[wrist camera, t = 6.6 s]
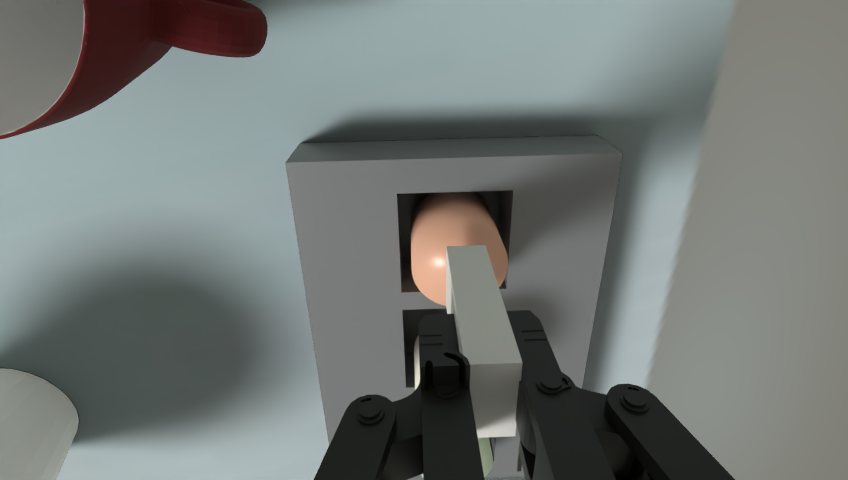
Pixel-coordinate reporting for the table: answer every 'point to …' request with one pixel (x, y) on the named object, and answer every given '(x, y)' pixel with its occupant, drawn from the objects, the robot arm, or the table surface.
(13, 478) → the cup
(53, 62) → the mug
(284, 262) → the table surface
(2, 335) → the table surface
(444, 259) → the button terracotta
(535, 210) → the button panel
